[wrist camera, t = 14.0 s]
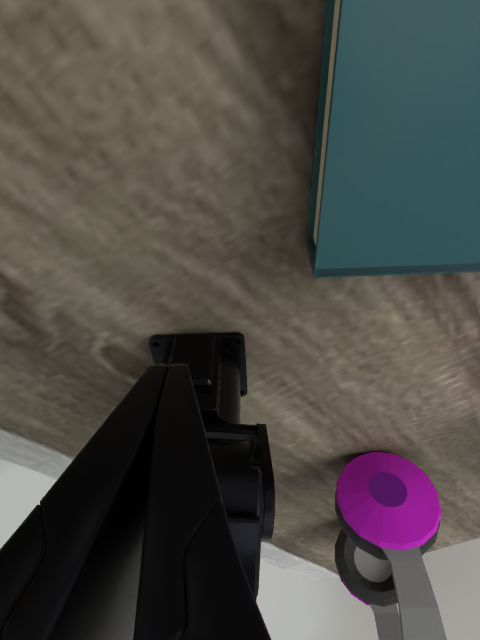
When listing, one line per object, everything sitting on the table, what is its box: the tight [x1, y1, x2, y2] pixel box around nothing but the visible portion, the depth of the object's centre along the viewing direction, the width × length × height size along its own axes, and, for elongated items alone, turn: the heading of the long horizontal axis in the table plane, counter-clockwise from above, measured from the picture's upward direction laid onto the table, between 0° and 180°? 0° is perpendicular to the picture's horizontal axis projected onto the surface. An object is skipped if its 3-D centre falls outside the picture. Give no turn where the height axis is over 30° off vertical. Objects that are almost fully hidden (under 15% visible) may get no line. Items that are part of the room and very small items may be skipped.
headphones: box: [335, 452, 447, 640], centre depth 34 cm, size 21×9×20 cm, turn 9°
